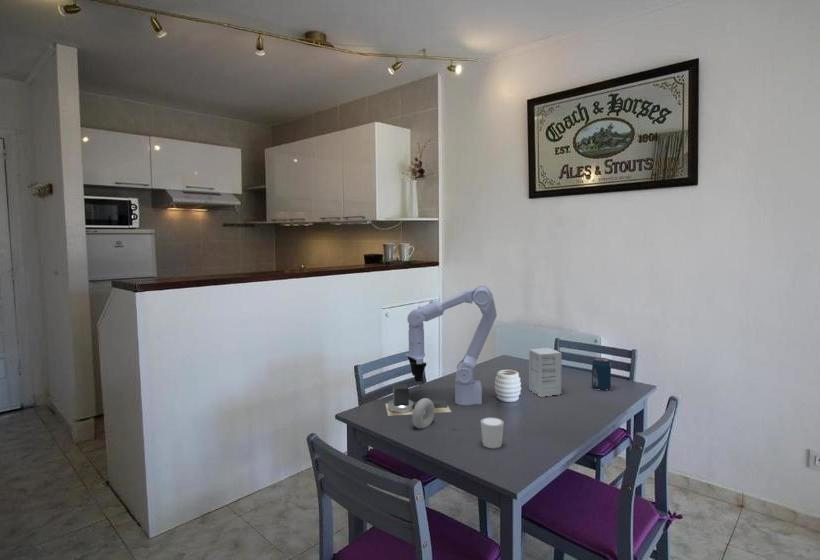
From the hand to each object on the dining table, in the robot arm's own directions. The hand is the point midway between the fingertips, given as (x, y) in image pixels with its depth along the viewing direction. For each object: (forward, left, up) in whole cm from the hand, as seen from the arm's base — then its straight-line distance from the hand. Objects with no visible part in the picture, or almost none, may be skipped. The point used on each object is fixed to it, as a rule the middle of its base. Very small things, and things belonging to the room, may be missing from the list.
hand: (416, 378), depth 176 cm
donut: (+1, +24, -10) cm, 26 cm away
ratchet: (+1, +8, -8) cm, 11 cm away
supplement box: (-51, -3, -10) cm, 52 cm away
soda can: (-75, -4, -10) cm, 76 cm away
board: (+1, +8, -9) cm, 12 cm away
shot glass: (-17, +38, -10) cm, 43 cm away
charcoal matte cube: (+7, +8, -6) cm, 12 cm away
